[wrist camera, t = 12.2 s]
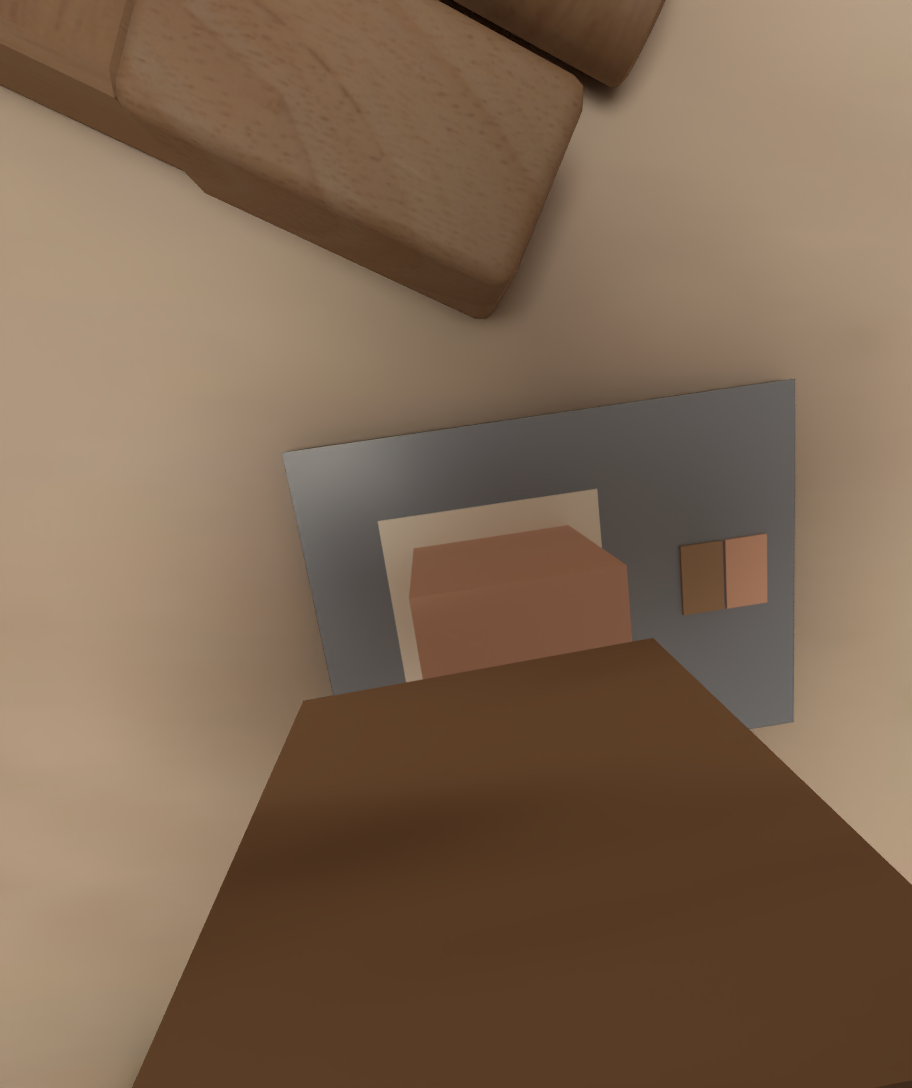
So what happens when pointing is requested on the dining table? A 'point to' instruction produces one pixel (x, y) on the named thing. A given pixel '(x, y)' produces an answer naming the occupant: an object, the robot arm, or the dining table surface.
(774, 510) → the grey flat plate
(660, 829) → the walnut block
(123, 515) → the dining table surface
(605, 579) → the terracotta block
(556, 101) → the wooden block set
